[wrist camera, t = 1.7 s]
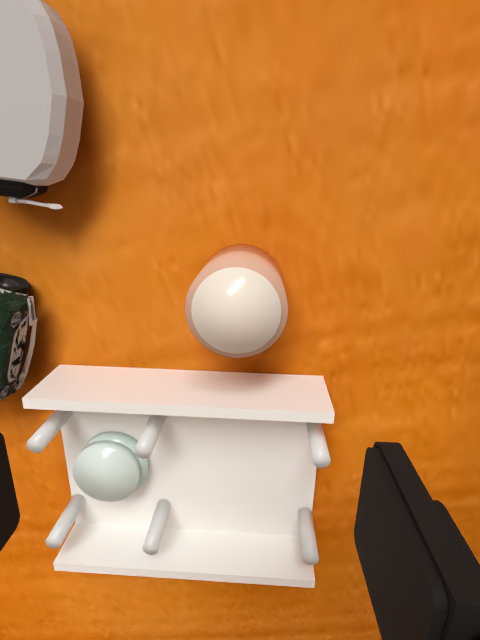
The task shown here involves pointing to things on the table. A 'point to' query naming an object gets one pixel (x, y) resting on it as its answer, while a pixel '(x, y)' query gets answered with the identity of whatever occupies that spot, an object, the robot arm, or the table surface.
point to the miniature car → (15, 332)
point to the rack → (192, 472)
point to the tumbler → (238, 302)
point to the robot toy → (36, 100)
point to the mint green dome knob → (110, 467)
